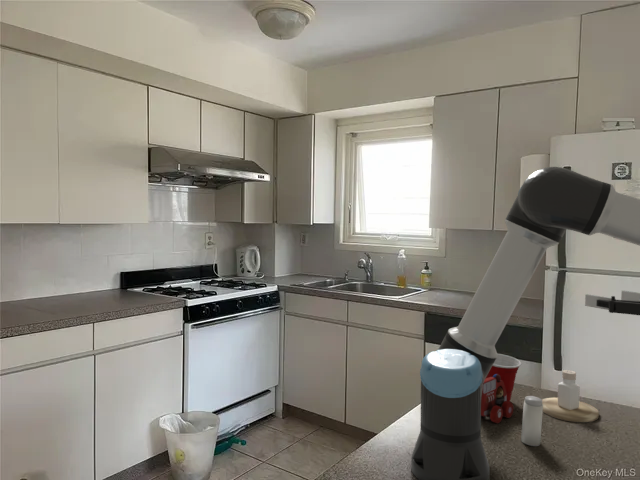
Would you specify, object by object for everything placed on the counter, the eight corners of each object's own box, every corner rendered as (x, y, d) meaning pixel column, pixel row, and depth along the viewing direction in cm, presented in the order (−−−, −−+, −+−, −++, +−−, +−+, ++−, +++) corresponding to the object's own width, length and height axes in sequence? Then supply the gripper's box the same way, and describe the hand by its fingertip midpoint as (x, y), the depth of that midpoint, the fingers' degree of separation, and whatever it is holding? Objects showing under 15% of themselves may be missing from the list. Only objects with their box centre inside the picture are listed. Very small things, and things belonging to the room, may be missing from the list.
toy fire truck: (517, 414, 124) (518, 374, 124) (492, 427, 116) (492, 385, 116) (492, 406, 130) (493, 368, 129) (467, 418, 122) (467, 378, 121)
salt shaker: (537, 447, 106) (540, 404, 105) (518, 442, 108) (521, 399, 108) (542, 441, 109) (545, 398, 108) (523, 435, 111) (526, 394, 111)
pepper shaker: (570, 411, 123) (571, 375, 123) (556, 405, 127) (557, 370, 127) (580, 408, 125) (581, 372, 125) (566, 403, 129) (567, 368, 128)
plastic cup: (508, 411, 126) (509, 366, 125) (471, 399, 134) (472, 357, 134) (527, 401, 133) (528, 358, 132) (491, 390, 141) (492, 350, 141)
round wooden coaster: (599, 426, 117) (599, 422, 117) (536, 415, 123) (536, 411, 123) (597, 407, 129) (597, 403, 129) (541, 397, 136) (541, 393, 136)
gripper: (672, 339, 90) (569, 318, 109) (739, 326, 101) (635, 309, 120) (673, 299, 90) (570, 285, 109) (741, 291, 100) (636, 279, 120)
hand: (604, 297), depth 114 cm, fingers open, 13 cm apart
